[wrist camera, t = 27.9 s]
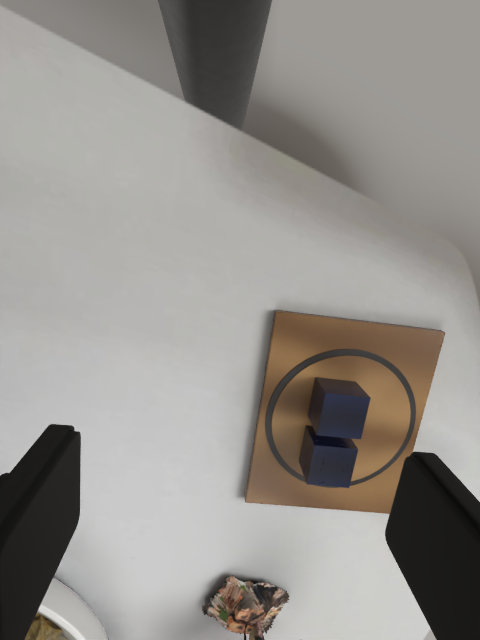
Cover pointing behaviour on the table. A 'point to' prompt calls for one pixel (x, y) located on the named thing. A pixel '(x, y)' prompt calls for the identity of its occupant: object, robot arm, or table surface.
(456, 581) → the robot arm
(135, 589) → the table surface
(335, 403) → the dark blue cube
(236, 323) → the table surface
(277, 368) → the board
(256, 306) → the table surface
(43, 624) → the bowl
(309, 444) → the dark blue block
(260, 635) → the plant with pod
